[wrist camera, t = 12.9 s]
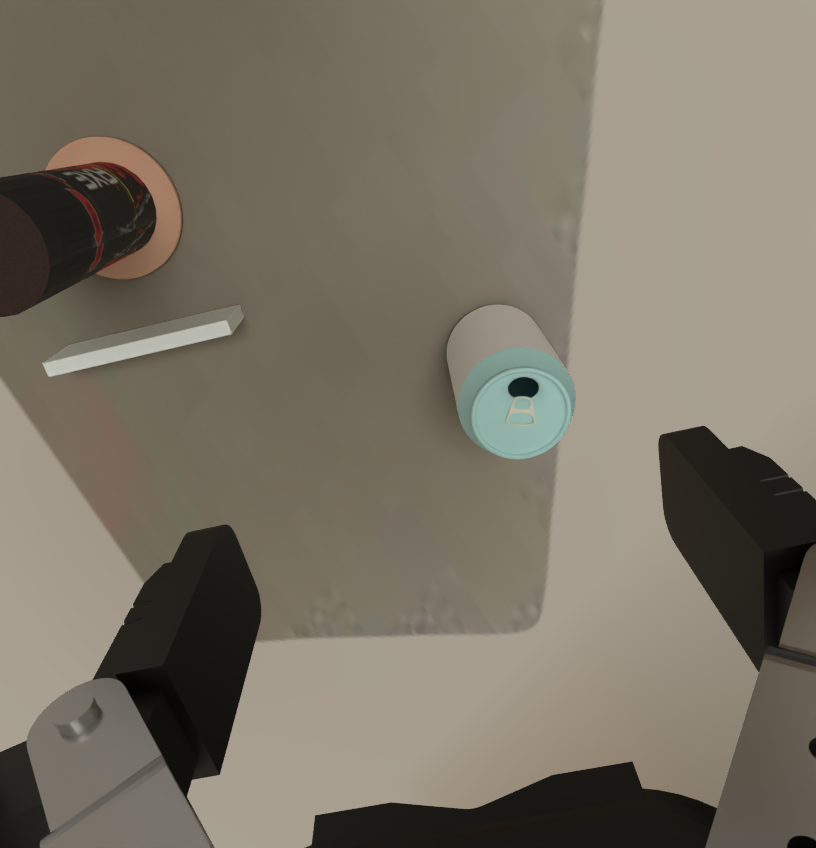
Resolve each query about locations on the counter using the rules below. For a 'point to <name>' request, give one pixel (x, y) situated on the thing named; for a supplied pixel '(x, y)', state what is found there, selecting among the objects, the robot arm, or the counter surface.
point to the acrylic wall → (145, 340)
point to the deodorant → (67, 228)
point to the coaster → (157, 185)
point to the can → (508, 383)
